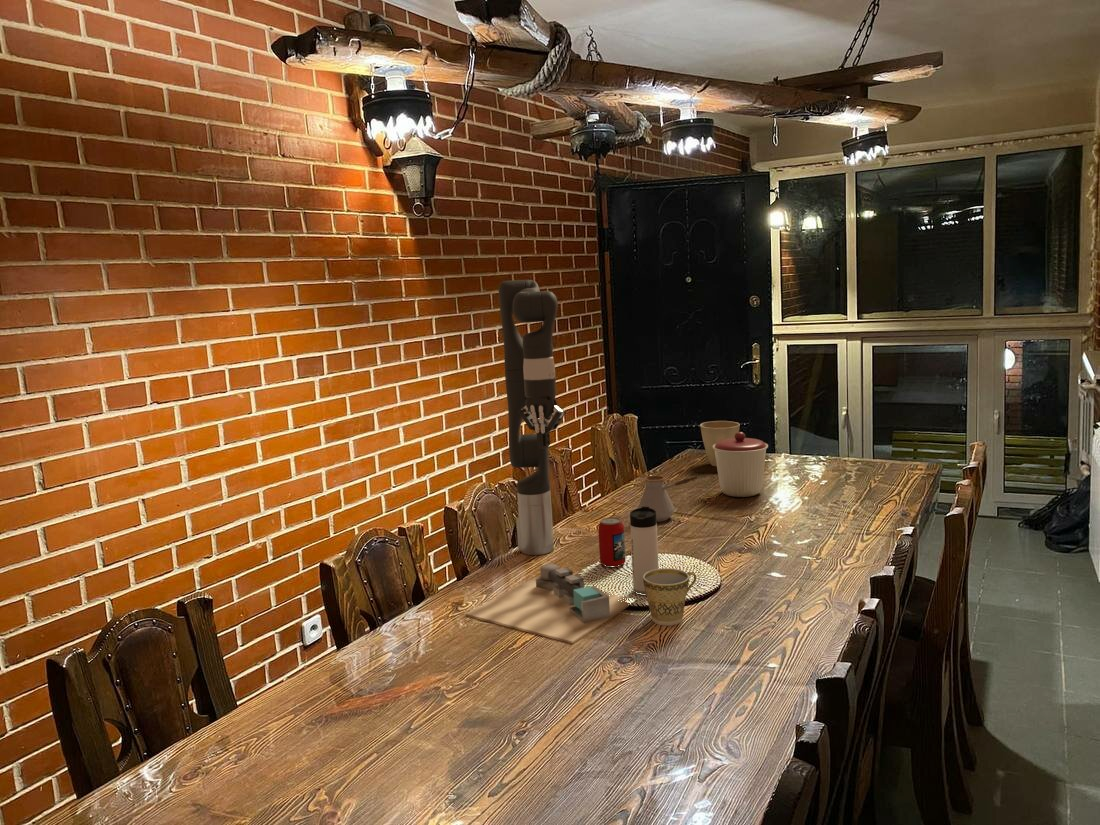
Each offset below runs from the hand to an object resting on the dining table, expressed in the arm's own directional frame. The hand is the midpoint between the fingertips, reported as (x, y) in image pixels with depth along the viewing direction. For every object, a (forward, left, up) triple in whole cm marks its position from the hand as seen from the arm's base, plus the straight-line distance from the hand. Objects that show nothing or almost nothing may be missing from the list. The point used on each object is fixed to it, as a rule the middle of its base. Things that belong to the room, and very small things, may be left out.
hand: (544, 447), depth 197 cm
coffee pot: (0, +61, -35) cm, 70 cm away
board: (+8, -11, -35) cm, 38 cm away
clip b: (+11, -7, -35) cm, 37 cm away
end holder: (+18, -11, -35) cm, 41 cm away
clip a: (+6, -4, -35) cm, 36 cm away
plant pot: (-17, +134, -35) cm, 140 cm away
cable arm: (+9, -6, -33) cm, 35 cm away
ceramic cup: (+35, -3, -35) cm, 50 cm away
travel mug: (+22, +8, -35) cm, 42 cm away
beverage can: (+5, +20, -35) cm, 41 cm away
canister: (+7, +98, -35) cm, 104 cm away
